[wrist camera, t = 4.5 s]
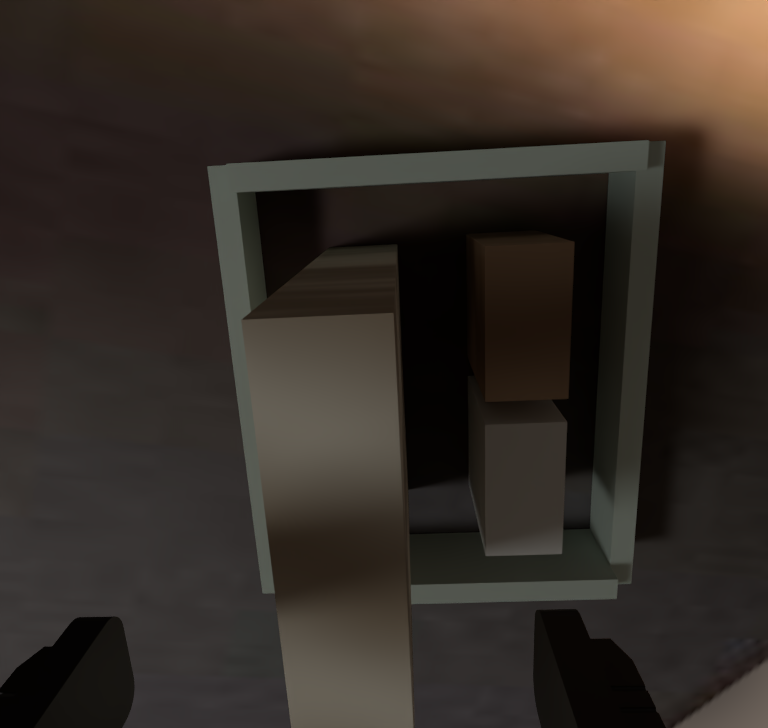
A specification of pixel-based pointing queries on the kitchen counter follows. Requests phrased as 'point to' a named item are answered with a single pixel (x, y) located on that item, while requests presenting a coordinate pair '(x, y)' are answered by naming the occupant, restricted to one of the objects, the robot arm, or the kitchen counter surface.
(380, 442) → the birch sheet
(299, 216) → the kitchen counter surface
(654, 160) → the bin
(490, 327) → the walnut offcut
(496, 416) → the grey offcut
